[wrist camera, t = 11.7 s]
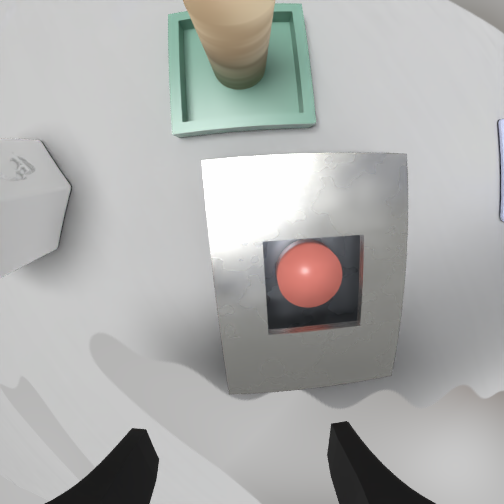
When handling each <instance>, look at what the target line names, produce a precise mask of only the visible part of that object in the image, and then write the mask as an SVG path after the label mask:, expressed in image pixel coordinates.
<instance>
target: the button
mask: <svg viewBox="0 0 504 504" xmlns="http://www.w3.org/2000/svg"><path fill="white" fill-rule="evenodd" d="M276 277H277V281H278V286H279V289H280V291H281V293H282V295H283V296H284V297H285V298H286V299H287V300H288V301H289V302H291V303H292V304H294V305H296V306H299V307H306V308H310V307H316V306H320V305H322V304H324V303H326V302H327V301H329V300H330V299H331V298H332V297H333V296H334V295H335V294H336V292H337V291H338V289H339V287H340V285H341V281H342V267H341V264H340V261H339V259H338V258H337V257H336V255H335V254H334V253H333V252H332V251H331V250H330V249H329V248H328V247H327V246H326V245H325V244H323V243H321V242H319V241H317V240H312V239H303V240H299V241H296V242H293V243H292V244H290V245H289V246H287V247H286V248H285V249H284V250H283V251H282V253H281V254H280V256H279V258H278V260H277V263H276Z"/></svg>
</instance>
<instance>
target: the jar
mask: <svg viewBox="0 0 504 504" xmlns="http://www.w3.org/2000/svg"><path fill="white" fill-rule="evenodd" d="M70 190H71V186H70V184H69V183H68V181H67V180H66V178H65V177H64V176H63V174H62V173H61V171H60V170H59V168H58V167H57V165H56V164H55V162H54V161H53V159H52V158H51V156H50V155H49V153H48V152H47V150H46V148H45V147H44V145H43V144H42V142H41V141H40V140H30V139H8V138H0V278H2V277H4V276H6V275H8V274H9V273H11V272H13V271H15V270H17V269H19V268H21V267H23V266H25V265H26V264H28V263H30V262H32V261H34V260H36V259H38V258H40V257H42V256H44V255H46V254H48V253H50V252H52V251H54V250H56V249H57V248H58V244H59V239H60V233H61V229H62V224H63V219H64V215H65V210H66V206H67V202H68V198H69V194H70Z"/></svg>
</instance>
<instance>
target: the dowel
mask: <svg viewBox="0 0 504 504" xmlns="http://www.w3.org/2000/svg"><path fill="white" fill-rule="evenodd" d="M183 2H184V4H185V7H186V9H187V11H188V13H189V16H190V18H191V20H192V23H193V25H194V27H195V29H196V32H197V34H198V36H199V39H200V41H201V43H202V46H203V48H204V50H205V53H206V55H207V57H208V60H209V62H210V64H211V67H212V69H213V71H214V74H215V76H216V78H217V79H218V81H219V82H220V83H221V84H223V85H224V86H226V87H228V88H231V89H235V90H243V89H247V88H250V87H252V86H254V85H256V84H257V83H258V82H259V81H260V80H261V79H262V77H263V75H264V73H265V68H266V61H267V54H268V47H269V40H270V33H271V26H272V19H273V12H274V6H275V0H183Z"/></svg>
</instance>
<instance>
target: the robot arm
mask: <svg viewBox="0 0 504 504" xmlns="http://www.w3.org/2000/svg"><path fill="white" fill-rule="evenodd" d="M498 125H499V136H500V152H501V214H500V217H501V220H502V221H503V222H504V119H500V120H499V123H498ZM327 456H328V462H329V468H330V474H331V478H332V481H333V485H334V488H335V491H336V495H337V498H338V501H339V504H435V503H434V502H432V501H430V500H428V499H427V498H425V497H423V496H422V495H420V494H419V493H417V492H416V491H414V490H412V489H411V488H410V487H408V486H407V485H406V484H405V483H403V482H402V481H401V480H400V479H399V478H397V477H396V476H395V475H394V474H393V473H392V472H391V471H390V470H389V469H387V468H386V467H385V466H384V465H383V464H382V463H381V462H380V461H379V460H378V459H377V457H376V456H375V455H374V454H373V453H372V452H371V451H370V450H369V448H368V447H367V446H366V445H365V444H364V442H363V441H362V440H361V439H360V437H359V436H358V435H357V433H356V432H355V431H354V429H353V428H352V426H351V425H350V424H349V422H347V421H345V422H339V423H333V424H331V431H330V438H329V446H328V454H327ZM158 464H159V458H158V456H157V454H156V452H155V449H154V447H153V445H152V442H151V440H150V438H149V435H148V433H147V430H146V429H135V428H132V429H131V430H130V431H129V432H128V433H127V435H126V436H125V437H124V438H123V439H122V440H121V441H120V443H119V444H118V445H117V446H116V447H115V448H114V449H113V450H112V451H111V452H110V454H109V455H108V456H107V457H106V458H105V459H104V460H103V461H102V462H101V463H100V464H99V465H98V466H97V467H96V468H95V469H94V470H93V471H91V472H90V473H89V474H88V475H87V476H86V477H85V478H84V479H82V480H81V481H80V482H79V483H77V484H76V485H75V486H73V487H72V488H71V489H69V490H68V491H66V492H65V493H63V494H61V495H60V496H58V497H56V498H55V499H53V500H51V501H49V502H47V503H45V504H149V503H150V500H151V496H152V493H153V489H154V486H155V482H156V478H157V471H158Z"/></svg>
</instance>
